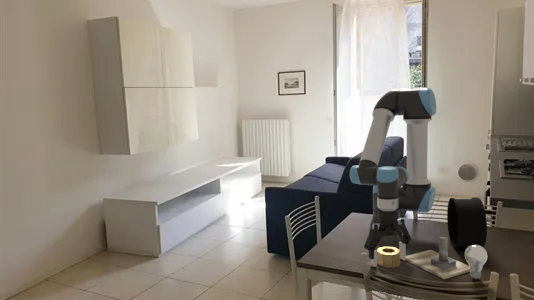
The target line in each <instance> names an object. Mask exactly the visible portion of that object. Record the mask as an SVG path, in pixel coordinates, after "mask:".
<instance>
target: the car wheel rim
mask: <svg viewBox="0 0 534 300" xmlns="http://www.w3.org/2000/svg"><path fill="white" fill-rule="evenodd" d="M446 212H447V213H446V219H447V220H446V221H447V231H448V236H449V238H448V239H449V241H450V244H451V246H452V247H453V248H458V247H466V248H467V247H469V246H470V245H480V246H482V247H483V248H485V245H486V242H487V236H488V223H487V222H488V221H487V215H486V209H485V206H484V203H483V201H482V199H481V198H480V197H472V198H455V197H450V198H449V199H448V202H447V211H446Z"/></svg>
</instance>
